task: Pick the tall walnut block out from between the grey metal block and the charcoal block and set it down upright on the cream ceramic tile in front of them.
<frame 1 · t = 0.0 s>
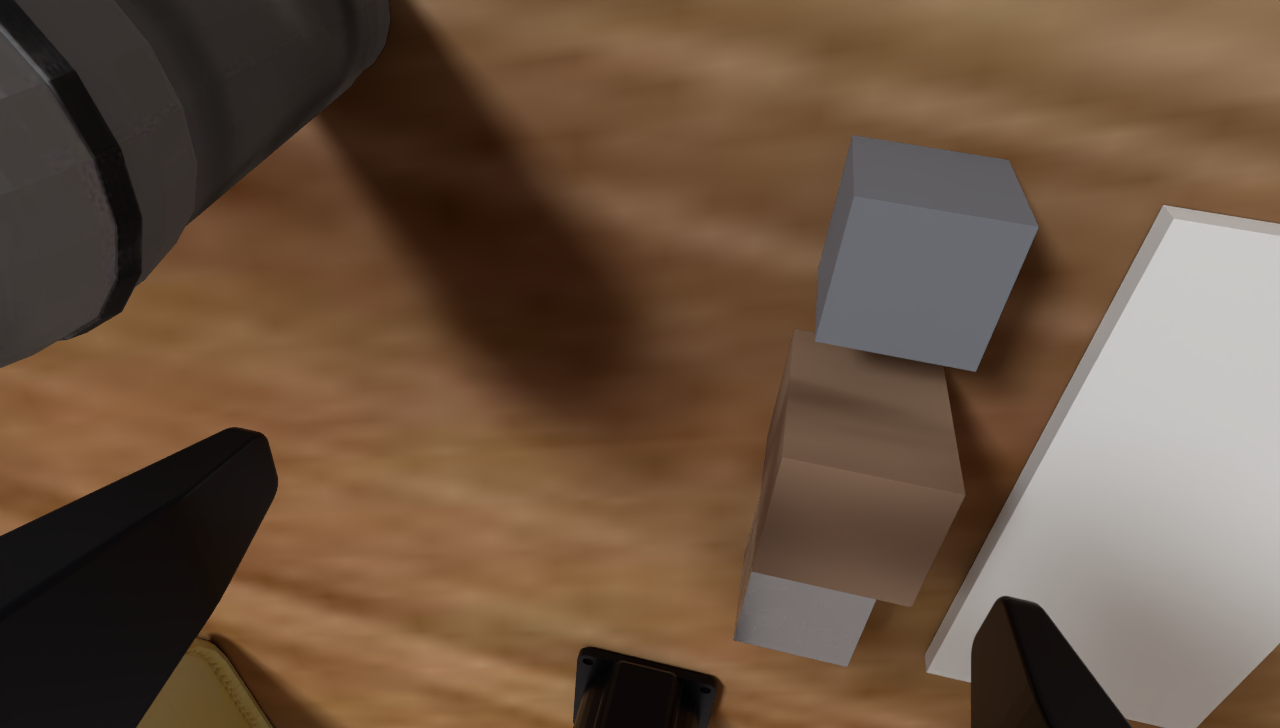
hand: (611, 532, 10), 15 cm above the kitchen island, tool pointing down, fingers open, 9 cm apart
walnut block: (849, 398, 26), on the kitchen island
charcoal block: (907, 216, 22), on the kitchen island
cream tile: (1175, 514, 26), on the kitchen island
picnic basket: (103, 686, 51), on the kitchen island
grey metal block: (806, 530, 30), on the kitchen island
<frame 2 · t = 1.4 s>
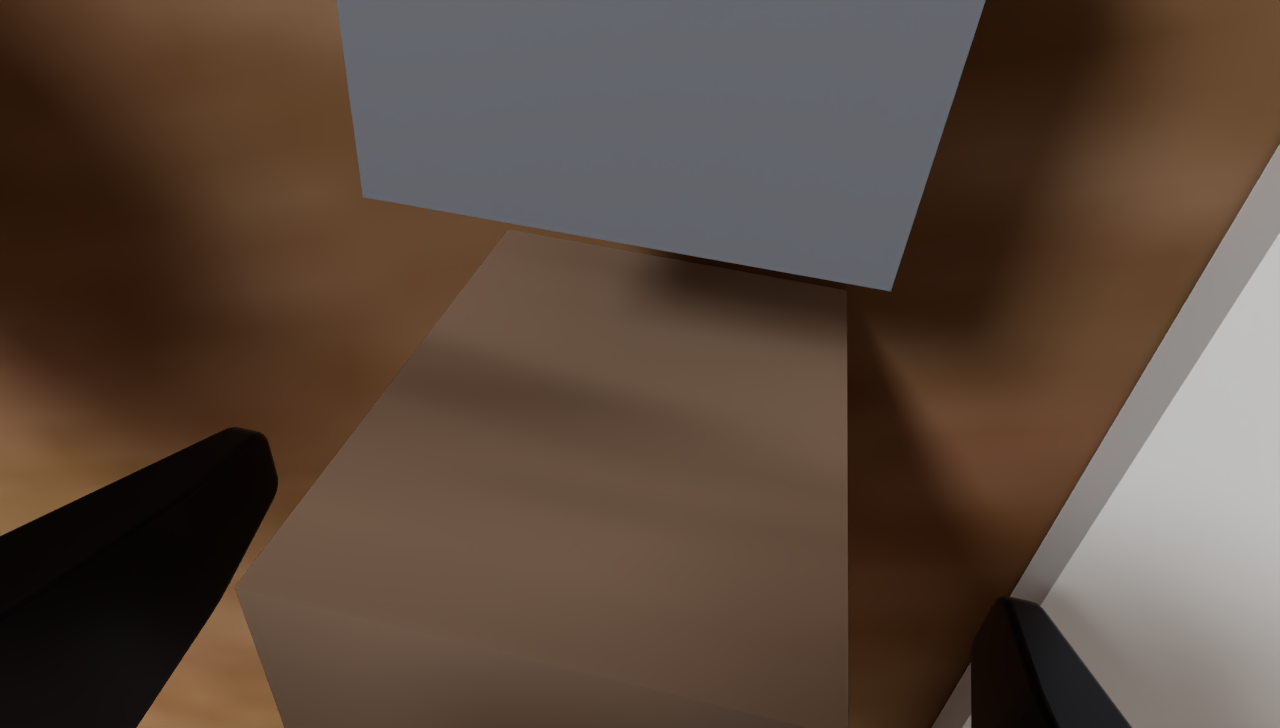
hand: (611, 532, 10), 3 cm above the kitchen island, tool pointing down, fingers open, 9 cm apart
walnut block: (656, 391, 12), on the kitchen island
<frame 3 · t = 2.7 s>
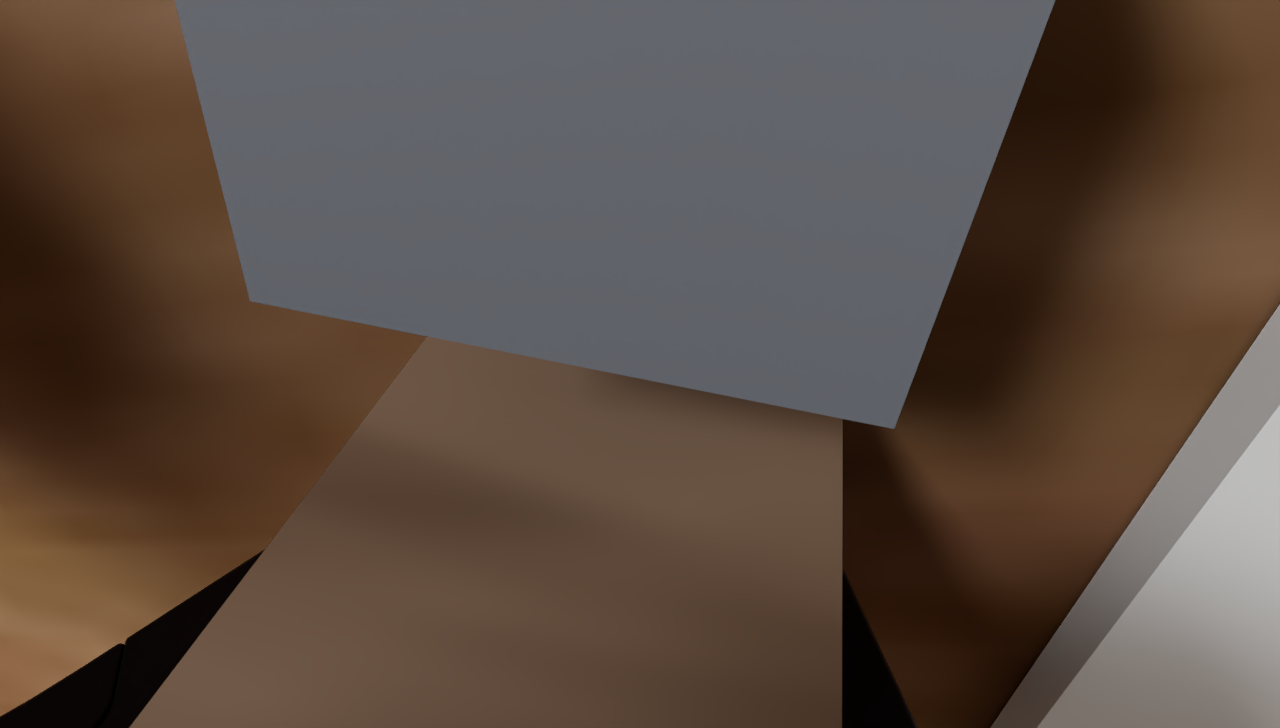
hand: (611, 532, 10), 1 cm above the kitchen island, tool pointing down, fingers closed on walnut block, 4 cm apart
walnut block: (632, 462, 11), on the kitchen island, touching gripper
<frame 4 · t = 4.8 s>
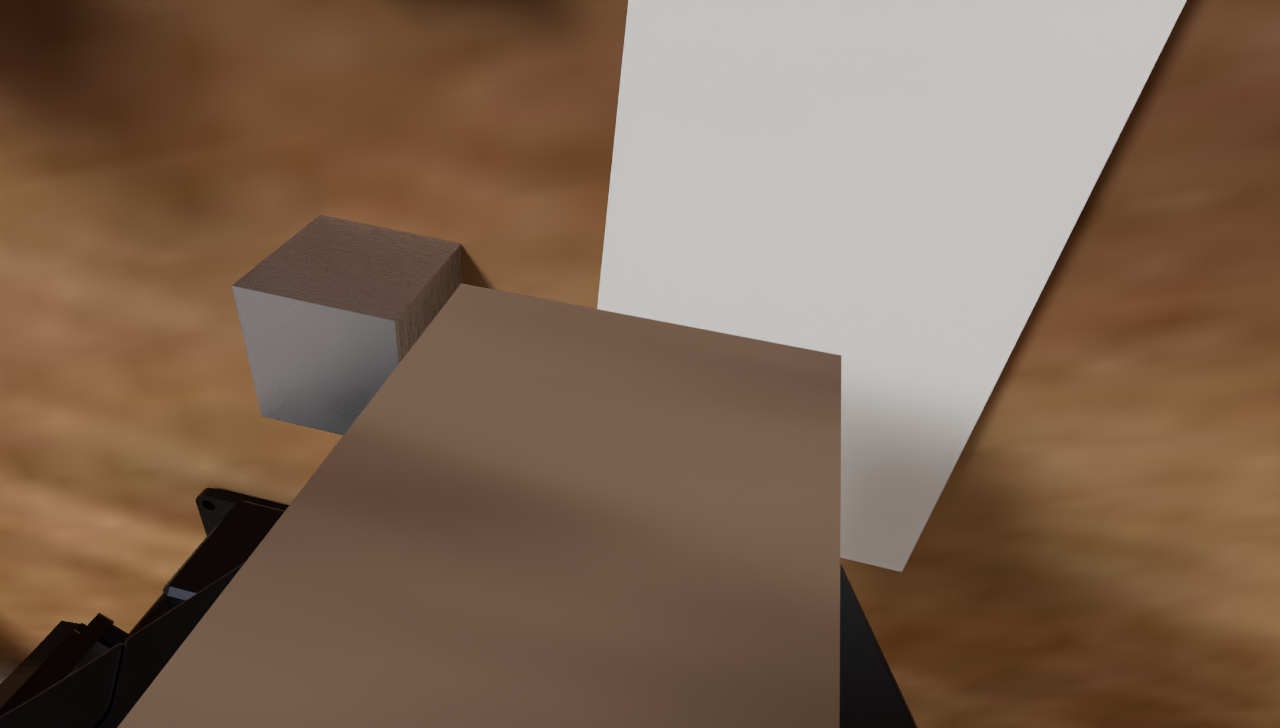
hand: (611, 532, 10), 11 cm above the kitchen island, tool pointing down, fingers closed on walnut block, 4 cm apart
walnut block: (630, 458, 10), point 10 cm above the kitchen island, touching gripper
cream tile: (821, 227, 19), on the kitchen island
grey metal block: (396, 290, 22), on the kitchen island
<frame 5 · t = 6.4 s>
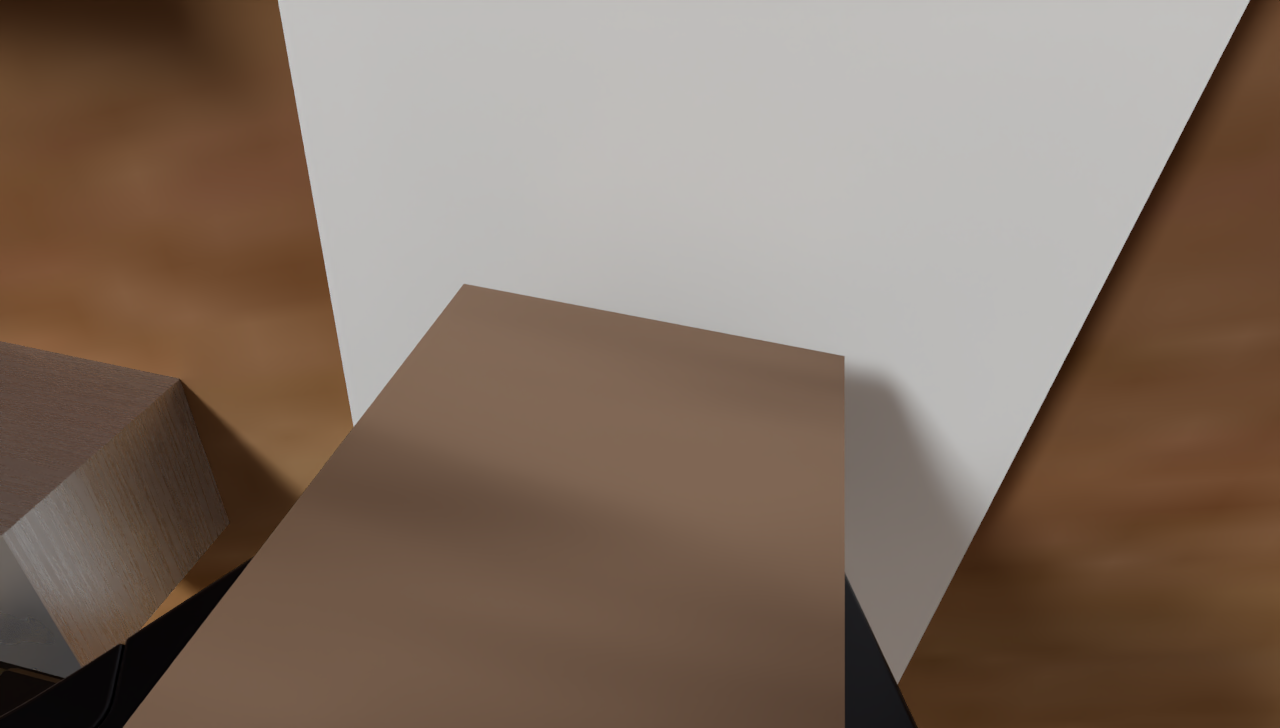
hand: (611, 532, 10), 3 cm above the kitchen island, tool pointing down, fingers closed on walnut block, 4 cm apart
walnut block: (633, 459, 10), point 2 cm above the kitchen island, touching gripper
cream tile: (665, 368, 12), on the kitchen island
grey metal block: (120, 434, 16), on the kitchen island
when the fingers open (3 cm above the kitchen island, at t = 7.2 s): walnut block stays where it is, resting on cream tile.
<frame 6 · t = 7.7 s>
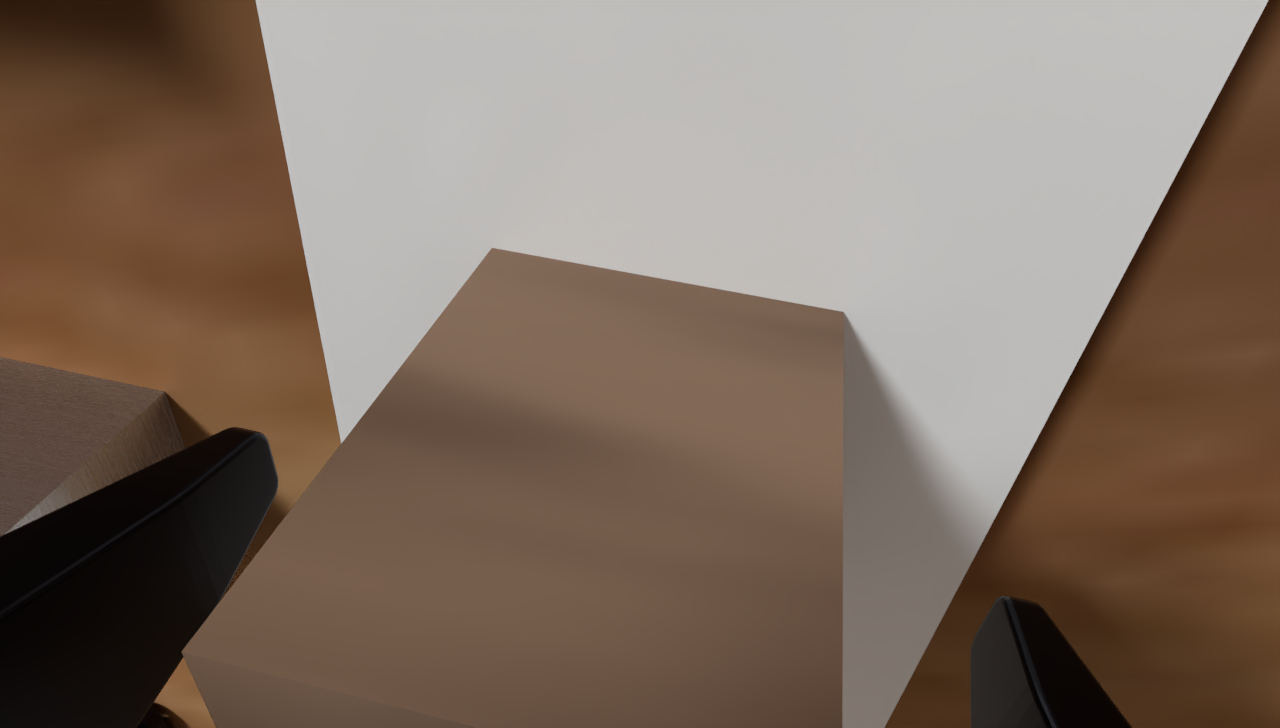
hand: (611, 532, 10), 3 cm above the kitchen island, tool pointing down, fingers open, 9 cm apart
walnut block: (647, 414, 11), point 1 cm above the kitchen island, touching cream tile
cream tile: (659, 383, 12), on the kitchen island
grey metal block: (106, 447, 16), on the kitchen island
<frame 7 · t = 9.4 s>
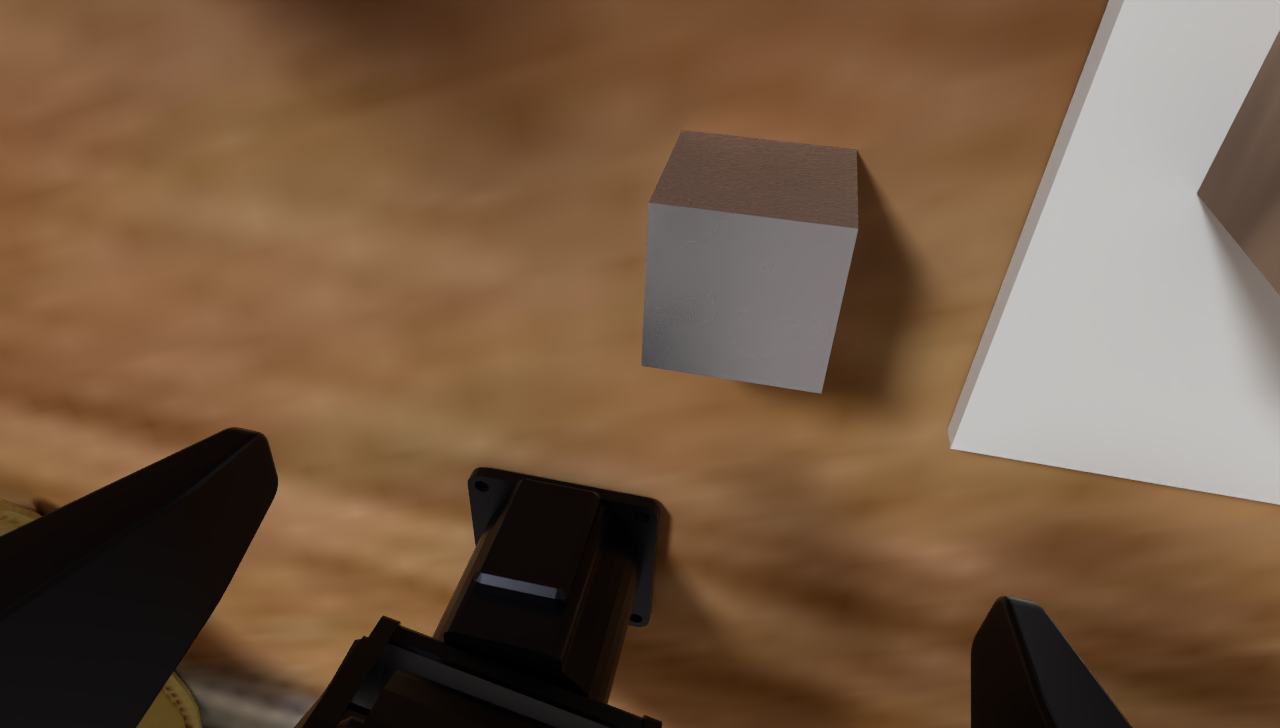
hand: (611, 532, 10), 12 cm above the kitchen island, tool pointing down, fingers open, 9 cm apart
grey metal block: (757, 217, 19), on the kitchen island
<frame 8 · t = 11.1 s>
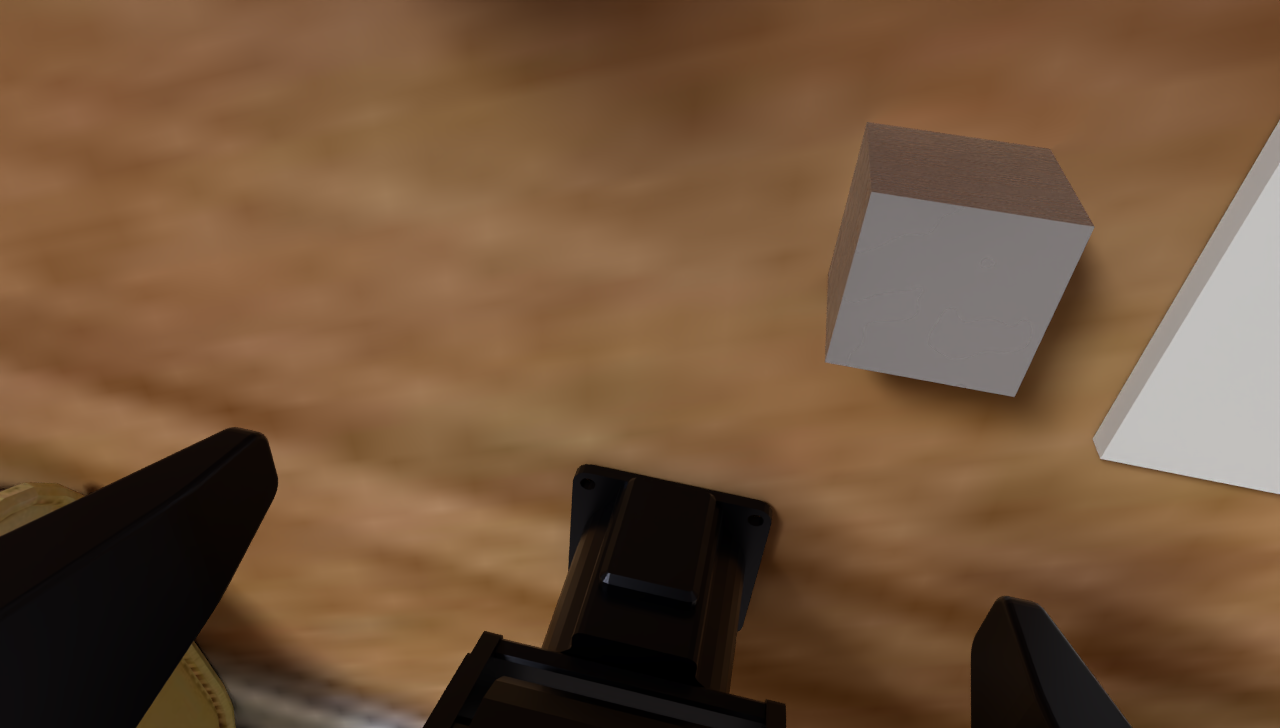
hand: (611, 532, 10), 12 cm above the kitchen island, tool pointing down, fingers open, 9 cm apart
grey metal block: (930, 215, 19), on the kitchen island
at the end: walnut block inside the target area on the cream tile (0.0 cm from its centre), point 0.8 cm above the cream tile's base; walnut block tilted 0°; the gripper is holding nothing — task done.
